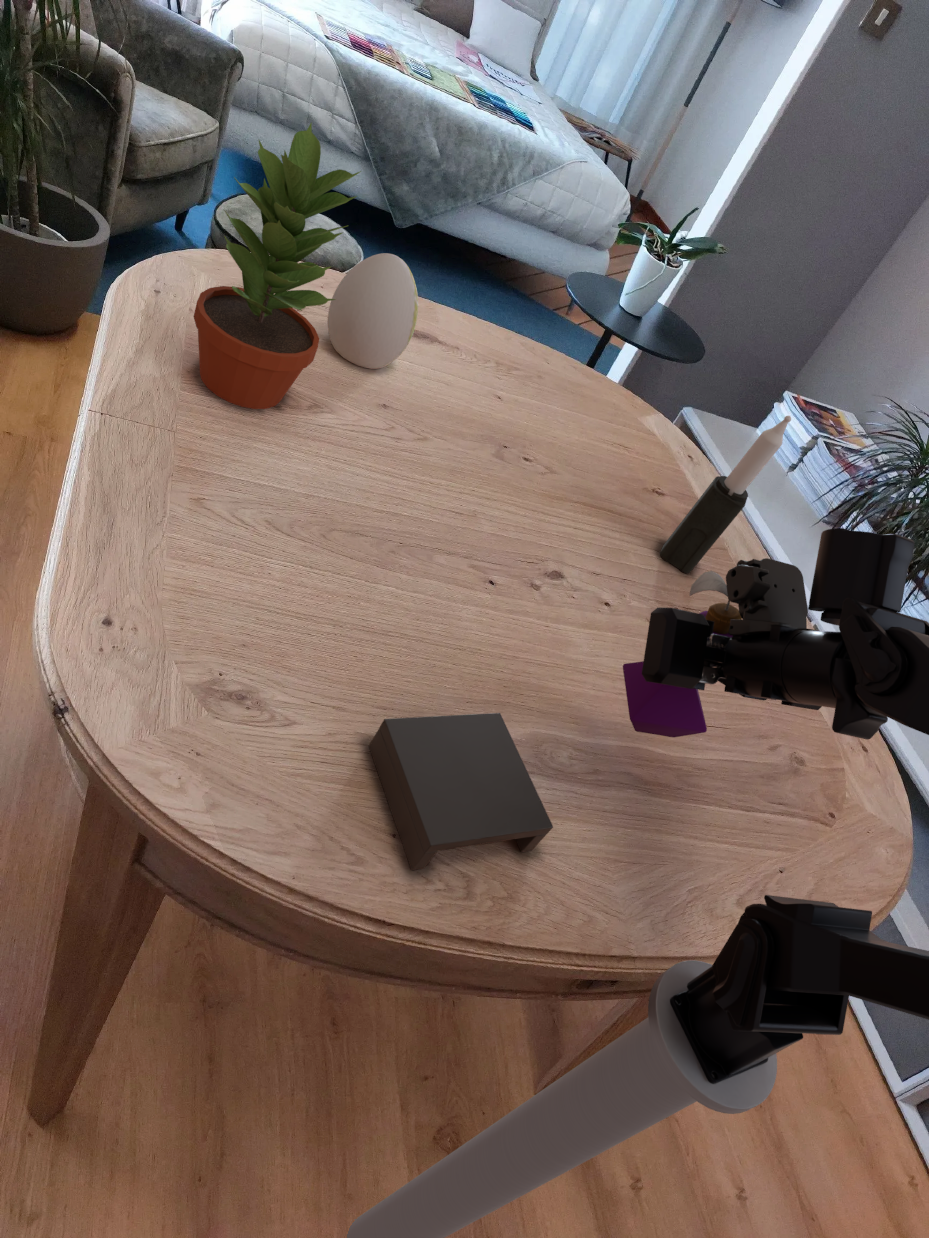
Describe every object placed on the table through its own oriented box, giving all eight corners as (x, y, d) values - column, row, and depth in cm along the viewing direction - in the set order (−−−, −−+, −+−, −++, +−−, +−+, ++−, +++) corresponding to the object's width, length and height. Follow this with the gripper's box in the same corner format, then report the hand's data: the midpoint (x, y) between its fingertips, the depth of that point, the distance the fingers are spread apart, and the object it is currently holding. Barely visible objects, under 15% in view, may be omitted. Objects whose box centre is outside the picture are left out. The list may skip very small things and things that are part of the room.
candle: (694, 560, 123) (808, 421, 107) (688, 576, 119) (805, 433, 103) (665, 541, 123) (774, 399, 107) (658, 556, 119) (770, 411, 103)
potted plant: (204, 419, 96) (275, 154, 77) (166, 343, 103) (223, 85, 85) (320, 427, 105) (409, 191, 86) (277, 356, 113) (351, 126, 94)
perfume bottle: (683, 697, 86) (754, 561, 75) (694, 753, 81) (773, 617, 69) (612, 685, 86) (673, 547, 74) (619, 742, 80) (686, 601, 68)
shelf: (531, 850, 73) (553, 827, 71) (411, 870, 67) (430, 845, 64) (482, 737, 80) (500, 712, 77) (368, 745, 73) (384, 718, 71)
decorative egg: (413, 373, 126) (454, 282, 117) (357, 382, 117) (396, 283, 108) (360, 326, 129) (395, 233, 120) (301, 331, 120) (334, 231, 111)
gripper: (903, 587, 69) (764, 589, 84) (731, 540, 62) (609, 551, 76) (885, 720, 69) (747, 699, 83) (709, 690, 61) (590, 673, 75)
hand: (678, 654), depth 79 cm, fingers closed on perfume bottle, 3 cm apart
